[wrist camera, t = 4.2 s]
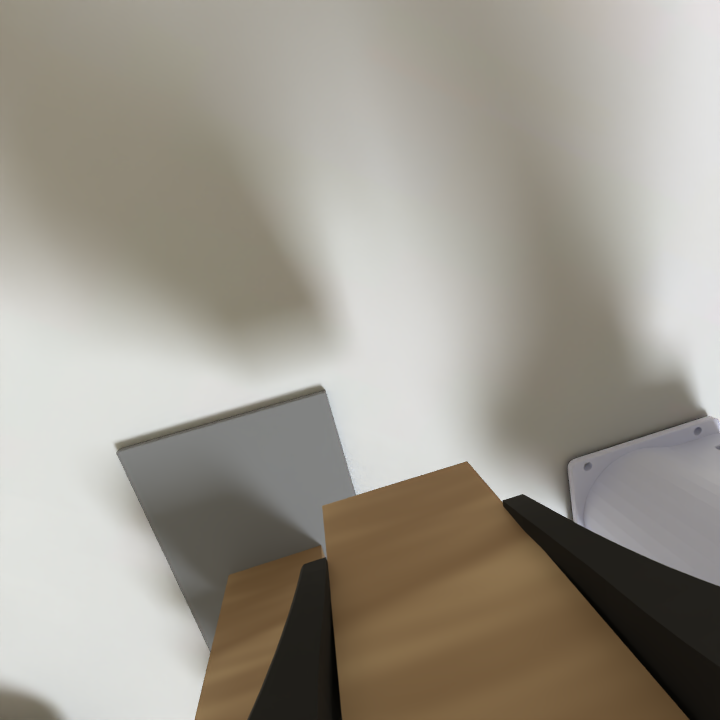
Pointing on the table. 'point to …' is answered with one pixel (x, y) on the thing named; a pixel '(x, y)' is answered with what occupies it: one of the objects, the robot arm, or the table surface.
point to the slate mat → (239, 494)
